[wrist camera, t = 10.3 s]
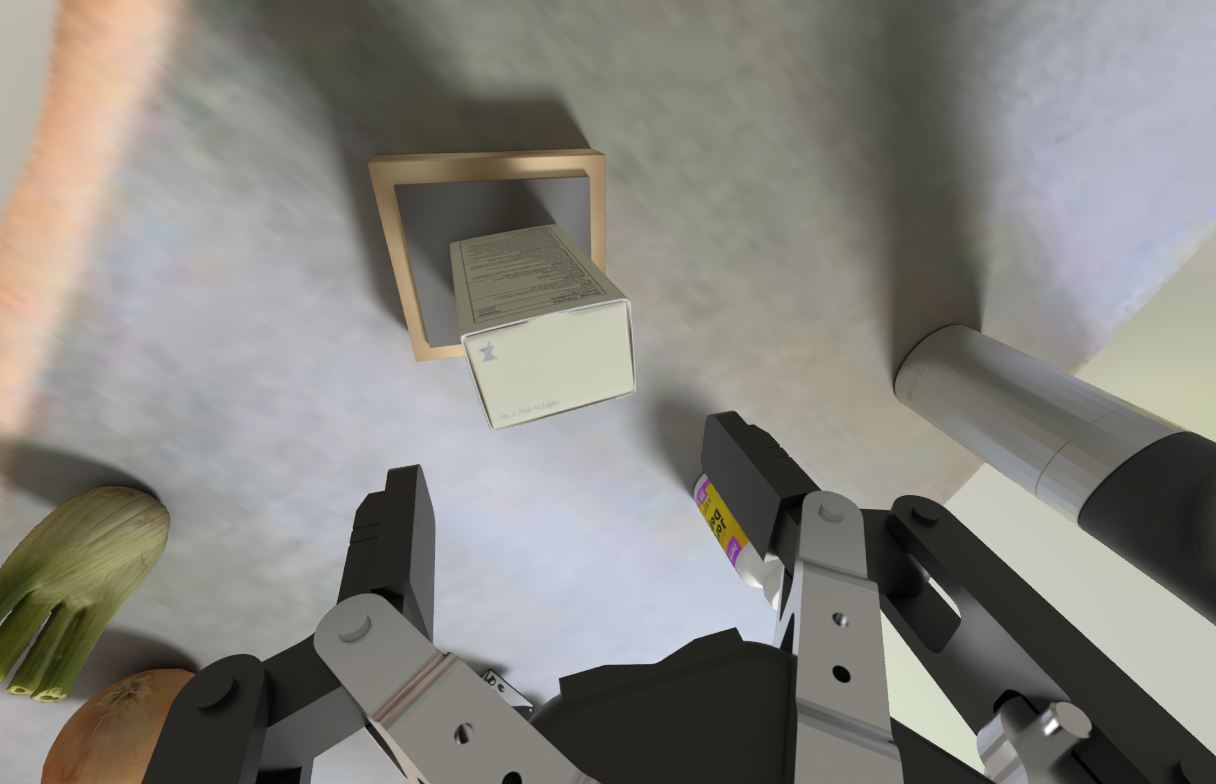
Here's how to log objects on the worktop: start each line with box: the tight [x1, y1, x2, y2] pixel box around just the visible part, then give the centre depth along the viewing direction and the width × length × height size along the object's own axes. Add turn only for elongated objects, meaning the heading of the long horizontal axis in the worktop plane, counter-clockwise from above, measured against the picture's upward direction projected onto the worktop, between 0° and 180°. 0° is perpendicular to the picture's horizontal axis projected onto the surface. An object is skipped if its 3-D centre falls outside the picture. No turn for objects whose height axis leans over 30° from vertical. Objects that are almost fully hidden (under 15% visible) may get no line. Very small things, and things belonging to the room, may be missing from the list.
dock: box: [367, 149, 606, 362], centre depth 29 cm, size 12×11×3 cm
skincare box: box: [450, 224, 636, 431], centre depth 23 cm, size 6×4×12 cm
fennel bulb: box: [0, 486, 170, 703], centre depth 27 cm, size 6×5×12 cm
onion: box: [41, 669, 196, 784], centre depth 37 cm, size 10×10×10 cm
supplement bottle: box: [694, 473, 783, 610], centre depth 43 cm, size 7×7×13 cm
